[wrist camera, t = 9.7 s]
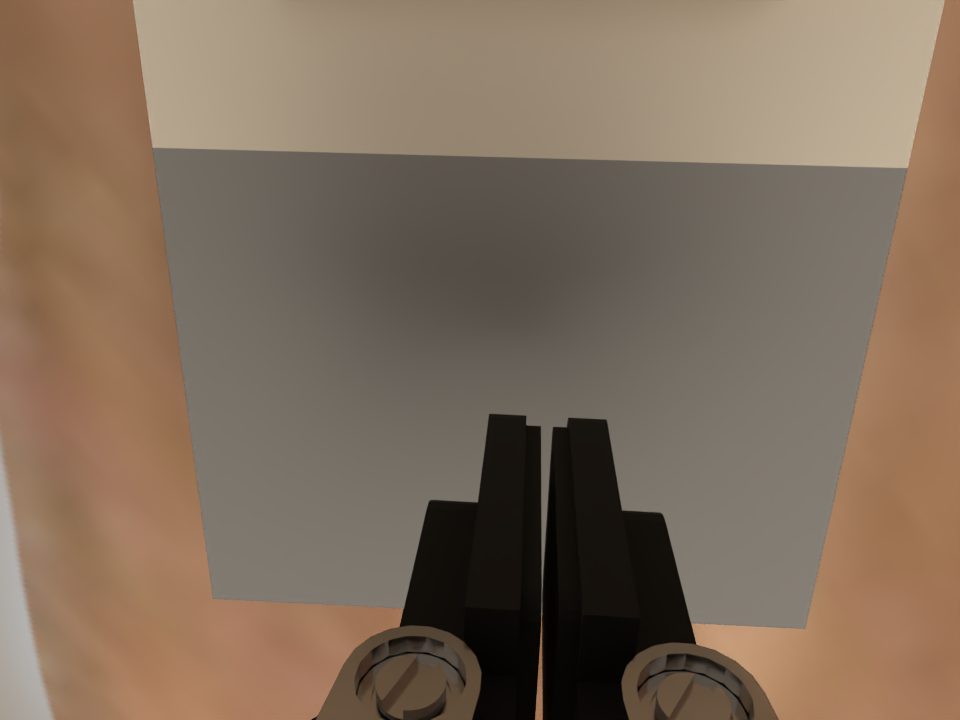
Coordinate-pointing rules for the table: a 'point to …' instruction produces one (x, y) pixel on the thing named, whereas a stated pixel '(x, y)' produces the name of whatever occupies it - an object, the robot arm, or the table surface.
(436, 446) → the grey and cream slab
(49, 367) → the table surface
